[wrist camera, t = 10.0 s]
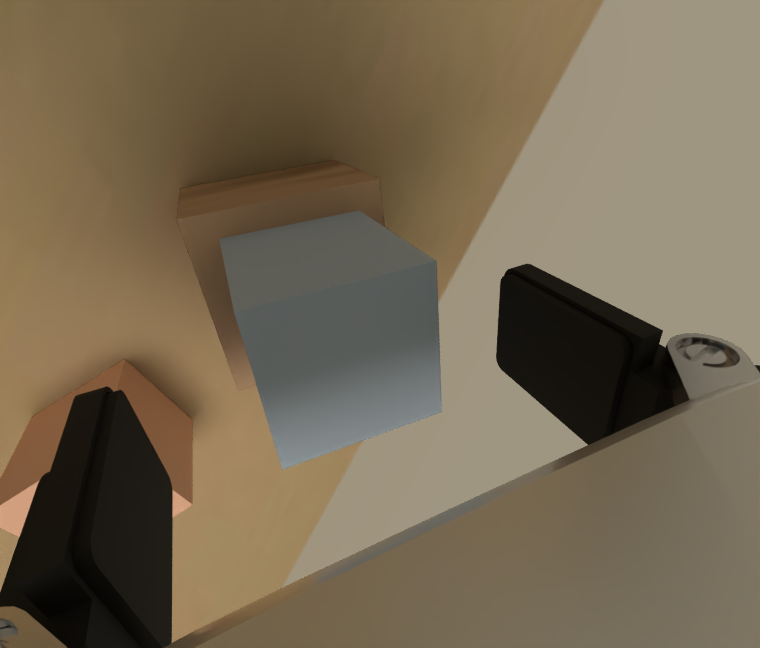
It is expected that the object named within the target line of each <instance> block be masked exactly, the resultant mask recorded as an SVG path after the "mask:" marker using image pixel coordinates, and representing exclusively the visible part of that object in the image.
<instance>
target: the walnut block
mask: <svg viewBox="0 0 760 648" xmlns="http://www.w3.org/2000/svg"><path fill="white" fill-rule="evenodd" d="M354 211H361V212H362V213H364V214H365V215H367V216H368V217H370V218H371V219H373V220H374V221H376V222H378V223H379V224H381V225H382V226H384V227H385V224H384V215H383V206H382V197H381V188H380V179H379V178H377V177H374V176H372V175H369V174H367V173H364V172H362V171H360V170H357V169H355V168H352V167H350V166H347V165H345V164H343V163H340V162H338V161H335V160H332V161H326V162H321V163H315V164H310V165H305V166H299V167H294V168H288V169H283V170H277V171H272V172H266V173H261V174H255V175H250V176H244V177H239V178H234V179H228V180H223V181H217V182H212V183H206V184H201V185H195V186H190V187H184V188H180V195H179V203H178V212H177V222H178V225H179V228H180V231H181V233H182V236H183V239H184V242H185V245H186V247H187V250H188V253H189V256H190V258H191V261H192V264H193V267H194V270H195V272H196V275H197V278H198V281H199V283H200V286H201V289H202V292H203V295H204V297H205V300H206V303H207V306H208V308H209V311H210V314H211V317H212V320H213V322H214V325H215V328H216V331H217V333H218V336H219V339H220V342H221V345H222V347H223V350H224V353H225V356H226V358H227V361H228V364H229V367H230V370H231V372H232V375H233V378H234V381H235V383H236V386H237V389H238V391H239V390H242V389H245V388H249V387H252V386H255V385H256V382H255V379H254V376H253V372H252V369H251V366H250V363H249V359H248V356H247V353H246V350H245V346H244V343H243V340H242V337H241V333H240V330H239V327H238V324H237V320H236V317H235V314H234V310H233V305H232V300H231V295H230V290H229V285H228V280H227V275H226V270H225V266H224V261H223V256H222V251H221V246H220V241H219V239H221V238H225V237H230V236H235V235H240V234H245V233H250V232H255V231H260V230H265V229H270V228H275V227H280V226H285V225H290V224H294V223H299V222H304V221H309V220H314V219H319V218H324V217H329V216H334V215H339V214H344V213H349V212H354Z"/></svg>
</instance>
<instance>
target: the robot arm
mask: <svg viewBox="0 0 760 648" xmlns="http://www.w3.org/2000/svg"><path fill="white" fill-rule="evenodd" d="M499 301H500V302H499V318H498V336H497V353H496V358H497V363H498V365H499V367H500V368H501V370H502V371H504V372H505V373H506V374H507V375H508V376H509V377H511V378H512V379H513V380H514V381H515V382H516V383H517V384H519V385H520V386H521V387H522V388H523V389H524V390H526V391H527V392H528V393H529V394H530V395H531V396H532V397H534V398H535V399H536V400H537V401H538V402H539V403H540V404H542V405H543V406H544V407H545V408H546V409H547V410H549V411H550V412H551V413H552V414H553V415H554V416H556V417H557V418H558V419H559V420H560V421H561V422H562V423H564V424H565V425H566V426H567V427H568V428H569V429H571V430H572V431H573V432H574V433H575V434H576V435H577V436H579V437H580V438H581V439H582V440H583V441H584V442H585V443H587V444H588V446H585V447H583V448H581V449H579V450H577V451H575V452H573V453H570V454H568V455H566V456H564V457H561V458H559V459H557V460H555V461H553V462H550V463H548V464H546V465H544V466H542V467H540V468H537V469H535V470H533V471H531V472H529V473H527V474H524V475H522V476H520V477H518V478H516V479H514V480H512V481H510V482H507V483H505V484H503V485H501V486H499V487H496V488H495V489H492V490H490V491H488V492H486V493H483V494H481V495H479V496H477V497H475V498H473V499H471V500H468V501H466V502H464V503H462V504H460V505H458V506H455V507H453V508H451V509H449V510H447V511H445V512H443V513H440V514H438V515H436V516H434V517H432V518H430V519H428V520H426V521H423V522H421V523H419V524H417V525H415V526H413V527H411V528H408V529H406V530H404V531H402V532H400V533H398V534H396V535H393V536H391V537H389V538H387V539H385V540H383V541H381V542H379V543H376V544H375V545H372V546H370V547H368V548H366V549H364V550H362V551H359V552H357V553H356V554H353V555H351V556H349V557H347V558H345V559H342V560H340V561H339V562H336V563H334V564H332V565H330V566H328V567H325V568H323V569H321V570H319V571H317V572H315V573H313V574H311V575H308V576H307V577H304V578H302V579H300V580H298V581H296V582H294V583H292V584H290V585H287V586H285V587H283V588H281V589H279V590H277V591H275V592H273V593H271V594H269V595H267V596H265V597H263V598H261V599H259V600H257V601H255V602H253V603H251V604H249V605H247V606H245V607H242V608H240V609H238V610H236V611H234V612H232V613H230V614H228V615H226V616H224V617H222V618H220V619H218V620H216V621H214V622H212V623H210V624H208V625H206V626H204V627H202V628H200V629H198V630H195V631H194V632H192V633H190V634H188V635H186V636H184V637H182V638H181V639H179V640H177V641H175V642H173V643H171V641H172V518H173V490H172V484H171V480H170V477H169V475H168V473H167V471H166V469H165V467H164V465H163V464H162V462H161V460H160V458H159V456H158V454H157V452H156V451H155V449H154V447H153V445H152V443H151V441H150V439H149V438H148V436H147V434H146V432H145V430H144V428H143V426H142V424H141V423H140V421H139V419H138V417H137V415H136V413H135V411H134V410H133V408H132V406H131V404H130V402H129V400H128V398H127V396H126V395H125V393H124V392H123V391H122V390H117V391H114V392H113V390H112V389H111V388H110V387H108V386H106V387H103V388H99V389H96V390H93V391H89V392H86V393H82V394H79V395H76V396H75V397H74V399H73V402H72V405H71V409H70V412H69V415H68V418H67V421H66V424H65V427H64V430H63V433H62V436H61V439H60V442H59V445H58V448H57V451H56V454H55V458H54V461H53V464H52V467H51V470H50V472H47V473H45V474H44V475H43V476H42V477H41V479H40V481H39V483H38V485H37V488H36V491H35V494H34V497H33V499H32V502H31V505H30V508H29V511H28V514H27V517H26V520H25V523H24V525H23V528H22V531H21V534H20V537H19V540H18V543H17V546H16V549H15V551H14V554H13V557H12V560H11V563H10V566H9V569H8V572H7V574H6V577H5V580H4V583H3V586H2V589H1V592H0V648H760V366H758V365H754V364H753V362H752V361H751V359H750V358H749V357H748V355H747V354H746V353H745V352H744V351H743V350H742V349H741V348H739V347H738V346H736V345H734V344H732V343H731V342H728V341H726V340H724V339H721V338H717V337H714V336H710V335H705V334H696V333H691V334H690V333H686V334H680V335H676V336H674V337H672V338H670V340H669V341H668V343H667V345H666V348H665V347H663V346H662V345H660V344H659V342H660V339H661V335H662V332H663V330H661V329H659V328H657V327H655V326H653V325H651V324H649V323H647V322H645V321H643V320H641V319H639V318H637V317H634V316H633V315H631V314H629V313H627V312H625V311H622V310H621V309H618V308H616V307H615V306H613V305H611V304H609V303H607V302H605V301H603V300H601V299H598V298H596V297H594V296H592V295H591V294H589V293H587V292H585V291H582V290H581V289H579V288H577V287H575V286H573V285H571V284H569V283H567V282H564V281H563V280H561V279H559V278H556V277H555V276H553V275H551V274H549V273H547V272H545V271H543V270H541V269H539V268H537V267H534V266H533V265H530V264H525V265H521V266H518V267H515V268H511V269H508V270H507V271H506V273H505V275H504V276H503V277H502V279H501V284H500V300H499Z"/></svg>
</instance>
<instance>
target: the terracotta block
mask: <svg viewBox="0 0 760 648" xmlns="http://www.w3.org/2000/svg"><path fill="white" fill-rule="evenodd" d="M106 386H108V387H110V388H111V389H112V390H113V392H114V391H117V390H122V391H123V392H124V393H125V395H126V396H127V398H128V400H129V402H130V404H131V406H132V408H133V410H134V411H135V413H136V415H137V417H138V419H139V421H140V423H141V424H142V426H143V428H144V430H145V432H146V434H147V436H148V438H149V439H150V441H151V443H152V445H153V447H154V449H155V451H156V452H157V454H158V456H159V458H160V460H161V462H162V464H163V465H164V467H165V469H166V471H167V473H168V475H169V477H170V480H171V484H172V490H173V517H174V516H176V515H177V514H179V513H180V512H182V511H183V510H185V509H186V508H188V507H189V506H191V505H192V419H191V418H190V417H188V416H187V415H186V414H185V413H184V412H183V411H182V410H181V409H180V408H178V407H177V406H176V405H175V404H174V403H173V402H172V401H171V400H170V399H169V398H167V397H166V396H165V395H164V394H163V393H162V392H161V391H160V390H159V389H157V388H156V387H155V386H154V385H153V384H152V383H151V382H150V381H149V380H147V379H146V378H145V377H144V376H143V375H142V374H141V373H140V372H139V371H137V370H136V369H135V368H134V367H133V366H132V365H131V364H130V363H129V362H128V361H126V360H125V359H124V360H123V361H121V362H119V363H118V364H116V365H115V366H113V367H111V368H110V369H108V370H107V371H105V372H103V373H102V374H100V375H99V376H97V377H95V378H94V379H92V380H90V381H89V382H87V383H86V384H84V385H82V386H81V387H79V388H78V389H76V390H74V391H73V392H71V393H69V394H68V395H66V396H65V397H63V398H61V399H60V400H58V401H57V402H55V403H53V404H52V405H50V406H49V407H47V408H45V409H44V410H42V411H40V412H39V413H37V414H36V415H34V416H32V418H31V420H30V421H29V423H28V425H27V427H26V429H25V431H24V433H23V435H22V437H21V439H20V441H19V443H18V445H17V447H16V449H15V451H14V453H13V455H12V457H11V459H10V461H9V463H8V465H7V467H6V469H5V471H4V473H3V475H2V477H1V479H0V528H2V529H4V530H6V531H8V532H10V533H12V534H14V535H16V536H18V537H20V534H21V531H22V528H23V525H24V523H25V520H26V517H27V514H28V511H29V508H30V505H31V502H32V499H33V497H34V494H35V491H36V488H37V485H38V483H39V481H40V479H41V477H42V476H43V475H44V474H45V473H47V472H50V470H51V467H52V464H53V461H54V458H55V454H56V451H57V448H58V445H59V442H60V439H61V436H62V433H63V430H64V427H65V424H66V421H67V418H68V415H69V412H70V409H71V405H72V402H73V399H74V397H75V396H76V395H79V394H82V393H86V392H89V391H93V390H96V389H99V388H103V387H106Z"/></svg>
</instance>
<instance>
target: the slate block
mask: <svg viewBox="0 0 760 648" xmlns="http://www.w3.org/2000/svg"><path fill="white" fill-rule="evenodd" d="M219 241H220V246H221V251H222V256H223V261H224V266H225V270H226V275H227V280H228V285H229V290H230V295H231V300H232V305H233V310H234V314H235V317H236V320H237V324H238V327H239V330H240V333H241V337H242V340H243V343H244V346H245V350H246V353H247V356H248V359H249V363H250V366H251V369H252V372H253V376H254V379H255V382H256V385H257V389H258V392H259V395H260V398H261V402H262V405H263V408H264V411H265V415H266V418H267V421H268V424H269V428H270V431H271V434H272V437H273V441H274V444H275V447H276V450H277V454H278V457H279V460H280V463H281V467H282V470H283V469H286V468H288V467H291V466H294V465H297V464H299V463H302V462H305V461H308V460H311V459H313V458H316V457H319V456H322V455H324V454H327V453H330V452H333V451H335V450H338V449H341V448H344V447H346V446H349V445H352V444H355V443H358V442H360V441H363V440H366V439H369V438H371V437H374V436H377V435H379V434H382V433H385V432H388V431H391V430H393V429H396V428H399V427H402V426H405V425H407V424H410V423H413V422H416V421H418V420H421V419H424V418H427V417H429V416H432V415H435V414H438V413H441V412H442V400H441V372H440V345H439V344H440V343H439V315H438V287H437V261H436V260H435V259H433V258H431V257H430V256H428V255H427V254H425V253H424V252H422V251H421V250H419V249H418V248H416V247H414V246H413V245H411V244H410V243H408V242H407V241H405V240H404V239H402V238H401V237H399V236H398V235H396V234H394V233H393V232H391V231H390V230H388V229H387V228H385V227H384V226H382V225H381V224H379V223H378V222H376V221H374V220H373V219H371V218H370V217H368V216H367V215H365V214H364V213H362V212H361V211H354V212H349V213H344V214H339V215H334V216H329V217H324V218H319V219H314V220H309V221H304V222H299V223H294V224H290V225H285V226H280V227H275V228H270V229H265V230H260V231H255V232H250V233H245V234H240V235H235V236H230V237H225V238H221V239H219Z"/></svg>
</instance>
